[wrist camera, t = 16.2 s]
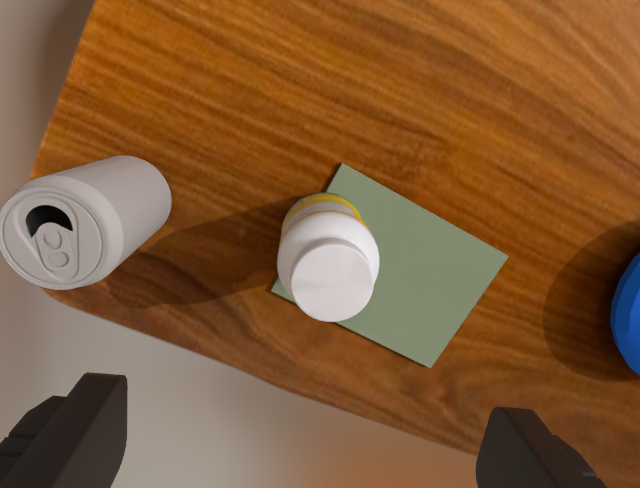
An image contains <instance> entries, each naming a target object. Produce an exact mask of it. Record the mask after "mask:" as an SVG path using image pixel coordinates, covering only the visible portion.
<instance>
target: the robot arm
mask: <svg viewBox="0 0 640 488" xmlns="http://www.w3.org/2000/svg"><path fill="white" fill-rule="evenodd" d="M126 440H127V378H126V377H125V376H124V375H114V374H101V373H89V372H88V373H86V374H84V375H83V376H82V378H81V379H80V380H79V381H78V383H77V384H76V385H75V387H74V388H73V389H72V390H71V392H70V393H69V394H68V396H67V397H62V396H52V397H50V398H49V399H47V400H45V401H44V402H42V403H41V404H39V405H38V406H36V407H35V408H33V409H31V410H30V411H28V412H27V413H26V414H25V415H24V416H23V418H22V419H21V420H20V421H19V422H18V423H17V425H16V426H15V427H14V428H13V429H12V430H11V432H10V433H9V436H8V437H5V439H4V440H3V441H2V442H1V443H0V488H110V487H111V485H112V483H113V481H114V479H115V477H116V474H117V472H118V470H119V468H120V465H121V463H122V460H123V456H124V452H125V447H126ZM476 480H477V485H478V488H607V487H606V486H605V484H604V483H603V482H602V481H601V479H600V478H597V477H596V473H595V472H594V471H593V470H592V468H591V467H590V466H589V465H588V463H587V462H586V461H585V460H584V459H583V457H582V456H581V455H580V454H579V453H578V452H577V451H576V450H574V449H573V448H572V447H571V446H569V445H568V444H567V443H566V442H564V441H563V440H562V439H560V438H559V437H558V436H557V435H552V434H551V432H550V431H549V430H548V428H547V427H546V426H545V425H544V423H543V422H542V421H541V419H540V418H539V417H538V416H537V414H536V413H535V412H534V411H532V410H530V409H521V408H509V407H495V408H494V409H493V410H492V412H491V414H490V417H489V421H488V424H487V428H486V431H485V434H484V438H483V441H482V445H481V448H480V451H479V455H478V458H477V462H476Z"/></svg>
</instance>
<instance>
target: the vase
mask: <svg viewBox="0 0 640 488" xmlns="http://www.w3.org/2000/svg"><path fill="white" fill-rule="evenodd" d="M610 324H611V329H612V333H613V338H614V342H615V344H616V346H617V347H618V349H619V351H620V353H621V354H622V356H623V357H624V359H625V361H626V362H627V364H628V366H629V367H630V368H631V369H632V370H633V371H635V372H636V373H637V374H638V375H639V376H640V253H639V254H638V255H636V256H635V257H634V258H633V260H632V261H631V263H630V265H629V266H628V268H627V269H626V271H625V272H624V274H623V275H622V277H621V278H620V280H619V283H618V286H617V289H616V291H615V294H614V297H613V300H612V306H611V318H610Z"/></svg>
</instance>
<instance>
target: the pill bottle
mask: <svg viewBox="0 0 640 488" xmlns="http://www.w3.org/2000/svg"><path fill="white" fill-rule="evenodd" d="M277 268H278V275H279V278H280V281H281V283H282V285H283V287H284V289H285V290H286V292H287V293H288V294H289V295H290V296H291V297H292V298H293V299H294V300H295V302H296V304H297V305H298V306H299V308H300V309H301V310H302V311H303V312H305V313H306V314H307V315H309V316H310V317H312V318H314V319H317V320H320V321H326V322H338V321H342V320H346V319H348V318H351V317H352V316H354V315H356V314H357V313H359V312H360V311H361V310H362V309H363V308H364V307H365V306H366V304H367V303H368V301H369V299H370V297H371V295H372V292H373V288H374V283H375V281H376V278H377V275H378V272H379V252H378V248H377V245H376V242H375V240H374V238H373V236H372V234H371V233H370V231H369V229H368V227H367V226H366V224H365V222H364V220H363V219H362V217H361V215H360V214H359V212H358V210H357V209H356V208H355V206H354V205H353V204H352V203H351V202H349V201H348V200H347V199H345V198H343V197H342V196H339V195H337V194H334V193H328V192H319V193H313V194H310V195H307V196H305V197H303V198H301V199H300V200H298V201H297V202H296V203H295V204H294V205H293V206H292V207H291V208H290V209H289V211H288V212H287V214H286V216H285V218H284V221H283V225H282V233H281V239H280V245H279V251H278V258H277Z"/></svg>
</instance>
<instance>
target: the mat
mask: <svg viewBox="0 0 640 488" xmlns="http://www.w3.org/2000/svg"><path fill="white" fill-rule="evenodd" d="M326 192H328V193H334V194H337V195H339V196H342V197H343V198H345V199H347V200H348V201H349V202H351V203H352V204H353V205H354V206H355V208H356V209H357V210H358V212H359V214H360V215H361V217H362V219H363V220H364V222H365V224H366V226H367V227H368V229H369V231H370V233H371V234H372V236H373V238H374V240H375V242H376V245H377V248H378V252H379V272H378V275H377V278H376V281H375V283H374V288H373V292H372V295H371V297H370V299H369V301H368V303H367V304H366V306H365V307H364V308H363V309H362V310H361V311H360V312H359V313H357V314H356V315H354V316H352V317H351V318H348V319H346V320H342V321H338V322H336V323H338V324H340V325H342V326H344V327H346V328H348V329H350V330H352V331H354V332H356V333H358V334H360V335H362V336H364V337H367V338H369V339H371V340H373V341H375V342H377V343H379V344H381V345H383V346H385V347H387V348H389V349H391V350H393V351H395V352H397V353H400V354H402V355H404V356H406V357H408V358H410V359H412V360H414V361H416V362H418V363H420V364H422V365H424V366H426V367H428V368H431V367H432V366H433V364H434V363H435V361H436V360H437V358H438V357H439V356H440V354H441V353H442V351H443V350H444V348H445V347H446V346H447V344H448V343H449V341H450V340H451V338H452V337H453V336H454V334H455V333H456V331H457V330H458V328H459V327H460V326H461V324H462V323H463V321H464V320H465V318H466V317H467V315H468V314H469V313H470V311H471V310H472V308H473V307H474V305H475V304H476V303H477V301H478V300H479V298H480V297H481V295H482V294H483V293H484V291H485V290H486V288H487V287H488V285H489V284H490V283H491V281H492V280H493V278H494V277H495V275H496V274H497V272H498V271H499V270H500V268H501V267H502V265H503V264H504V262H505V261H506V260H507V258H508V257H509V256H508V255H506V254H504V253H502V252H501V251H499V250H497V249H495V248H493V247H492V246H490V245H488V244H486V243H485V242H483V241H481V240H479V239H477V238H476V237H474V236H472V235H470V234H468V233H467V232H465V231H463V230H461V229H460V228H458V227H456V226H454V225H452V224H451V223H449V222H447V221H445V220H443V219H442V218H440V217H438V216H436V215H435V214H433V213H431V212H429V211H427V210H426V209H424V208H422V207H420V206H418V205H417V204H415V203H413V202H411V201H410V200H408V199H406V198H404V197H402V196H401V195H399V194H397V193H395V192H393V191H392V190H390V189H388V188H386V187H385V186H383V185H381V184H379V183H377V182H376V181H374V180H372V179H370V178H368V177H367V176H365V175H363V174H361V173H359V172H358V171H356V170H354V169H352V168H351V167H349V166H347V165H345V164H343V163H341V165H340V167H339V168H338V170H337V172H336V174H335V176H334V177H333V179H332V181H331V183H330V185H329V186H328V188H327V190H326ZM271 291H272V292H274V293H276V294H278V295H280V296H282V297H284V298H286V299H288V300H290V301H292V302H294V303H296V302H295V300H294V299H293V298H292V297H291V296H290V295H289V294H288V293H287V292H286V290H285V289H284V287H283V285H282V283H281V281H280V278H279V276H278V278H277V279H276V281H275V283H274V285H273V286H272V288H271Z"/></svg>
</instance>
